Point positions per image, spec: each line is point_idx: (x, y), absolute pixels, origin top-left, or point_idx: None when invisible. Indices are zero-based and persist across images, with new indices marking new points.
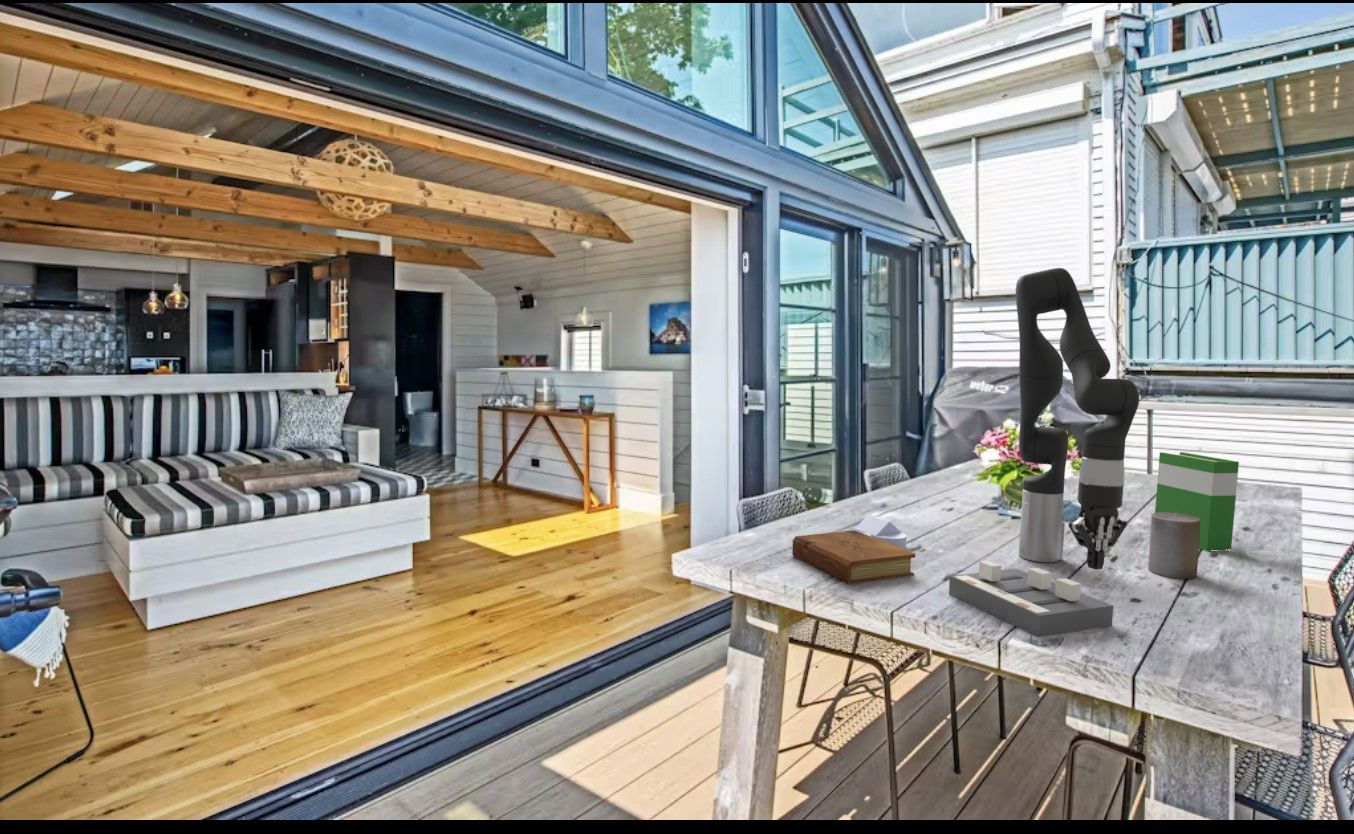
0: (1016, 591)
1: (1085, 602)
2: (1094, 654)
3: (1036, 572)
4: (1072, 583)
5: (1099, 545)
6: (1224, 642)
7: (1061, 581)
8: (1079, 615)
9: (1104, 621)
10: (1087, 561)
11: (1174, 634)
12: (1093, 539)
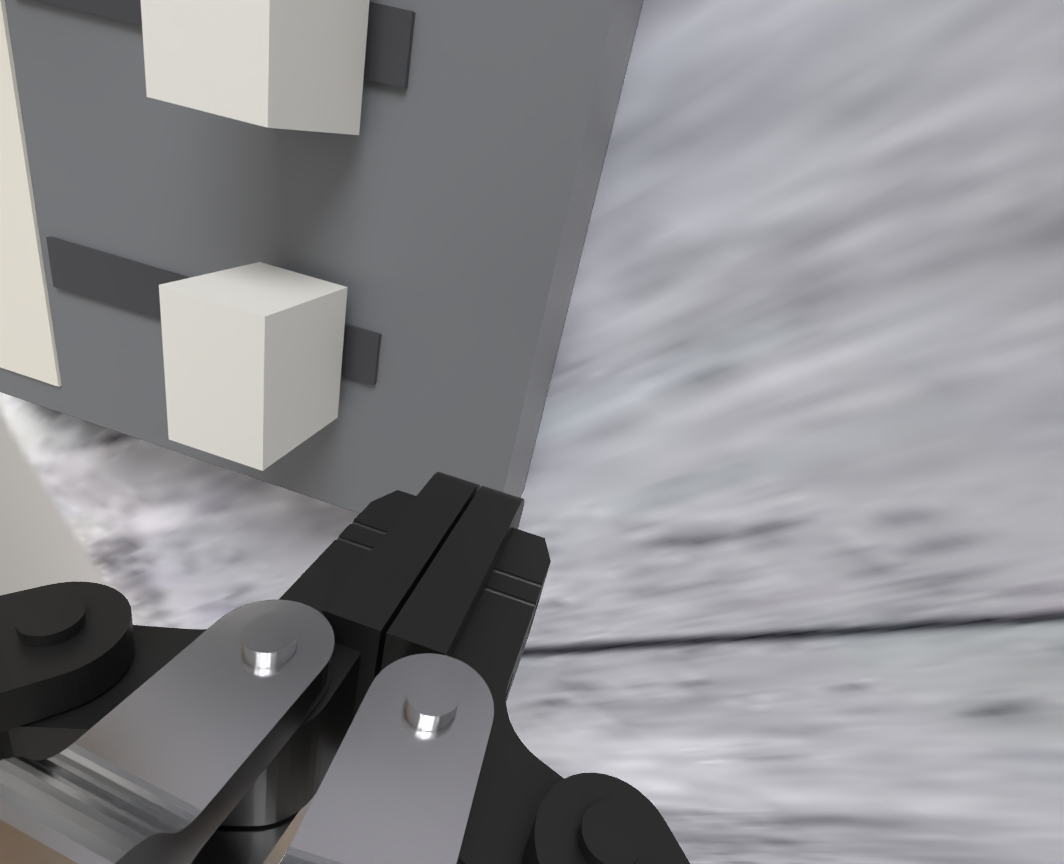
0: (75, 2)
1: (376, 434)
2: (170, 556)
3: (147, 1)
4: (205, 425)
5: (254, 847)
6: (761, 828)
7: (163, 343)
8: None
9: None
10: (365, 516)
11: (678, 694)
12: (314, 805)
